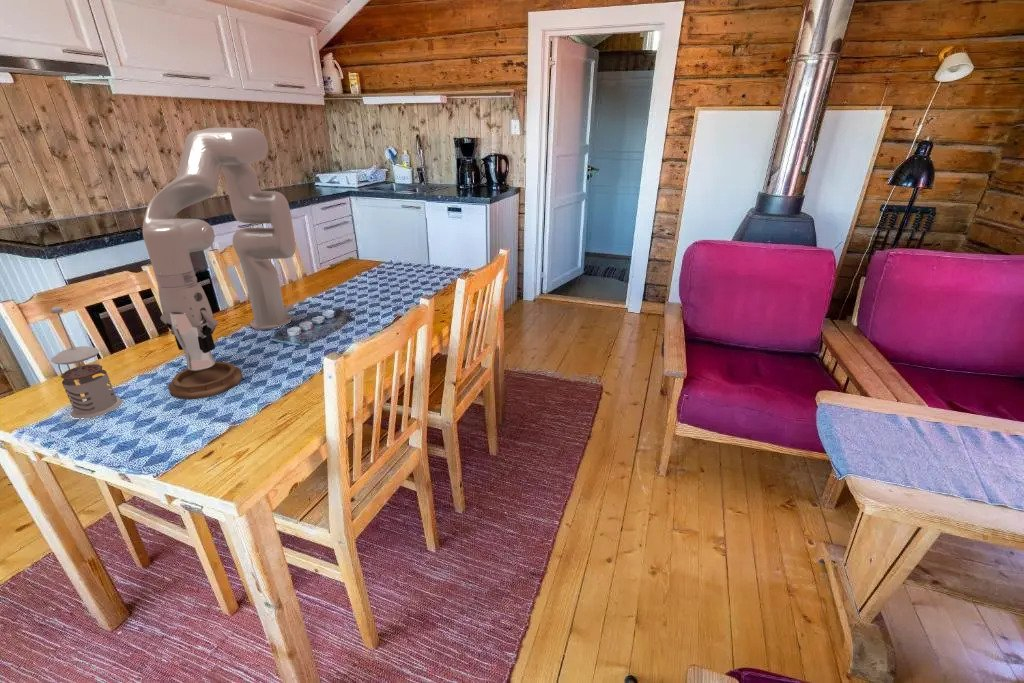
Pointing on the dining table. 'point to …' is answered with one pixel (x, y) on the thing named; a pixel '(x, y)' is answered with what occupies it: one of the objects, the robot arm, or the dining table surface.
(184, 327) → the beer glass
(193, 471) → the dining table surface
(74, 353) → the french press
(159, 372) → the dining table surface
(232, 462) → the dining table surface
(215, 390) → the round tray
